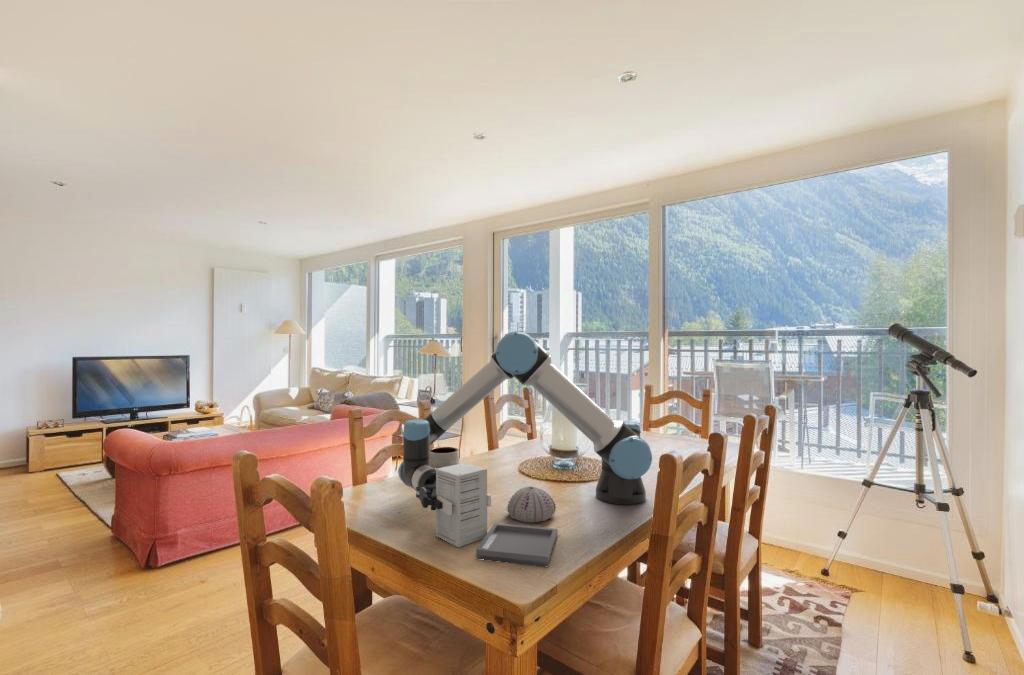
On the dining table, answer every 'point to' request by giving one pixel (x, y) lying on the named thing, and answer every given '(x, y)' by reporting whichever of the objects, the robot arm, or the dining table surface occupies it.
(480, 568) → the dining table surface
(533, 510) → the sea urchin shell
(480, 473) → the supplement box
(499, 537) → the tray
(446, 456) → the planter
